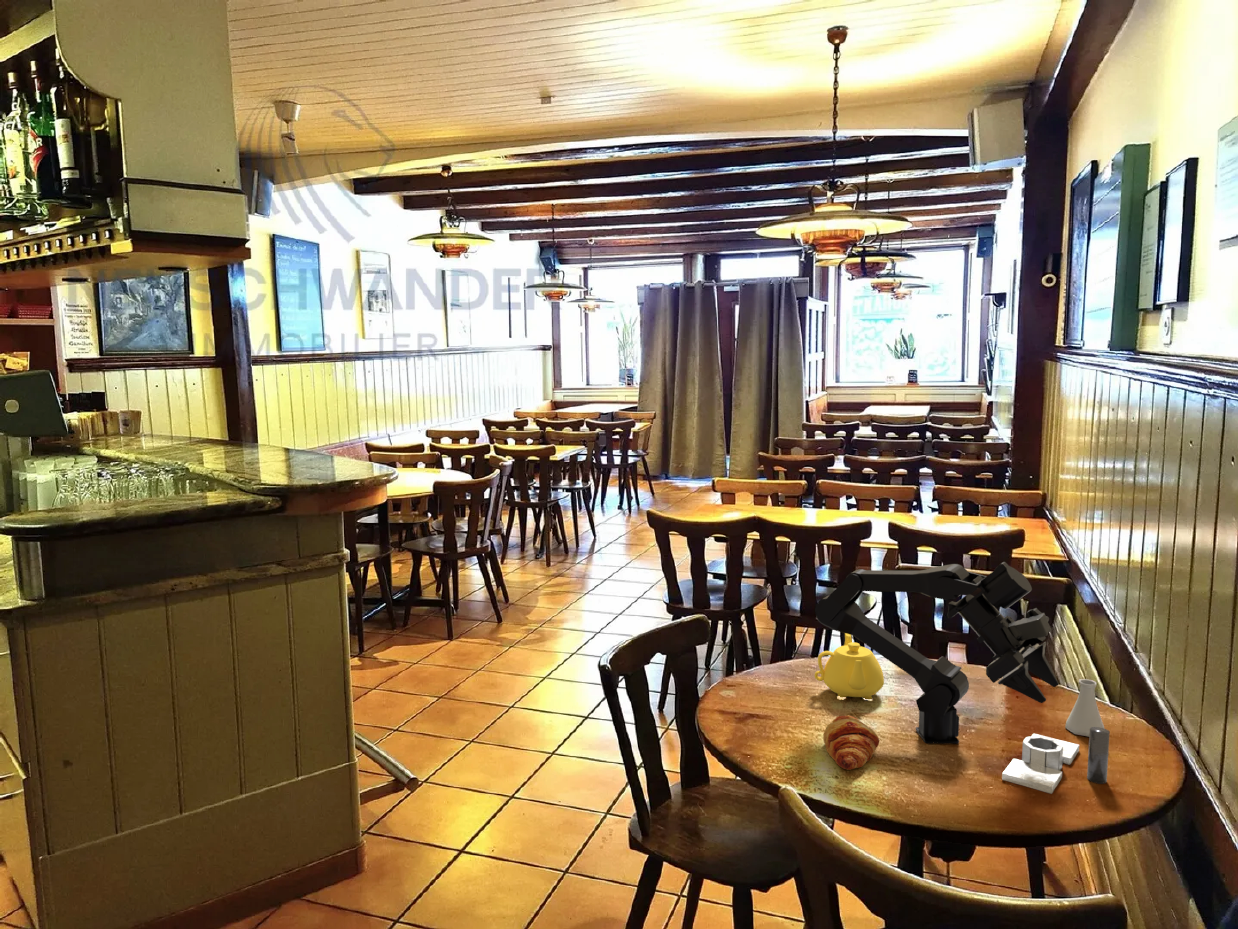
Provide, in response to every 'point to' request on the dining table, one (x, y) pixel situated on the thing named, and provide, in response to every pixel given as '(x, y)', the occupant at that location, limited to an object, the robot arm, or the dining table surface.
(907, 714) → the dining table surface
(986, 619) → the robot arm
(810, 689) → the dining table surface
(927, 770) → the dining table surface
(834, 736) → the croissant
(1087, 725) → the flask
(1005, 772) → the white piece
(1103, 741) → the hinge pin
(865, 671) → the teapot
